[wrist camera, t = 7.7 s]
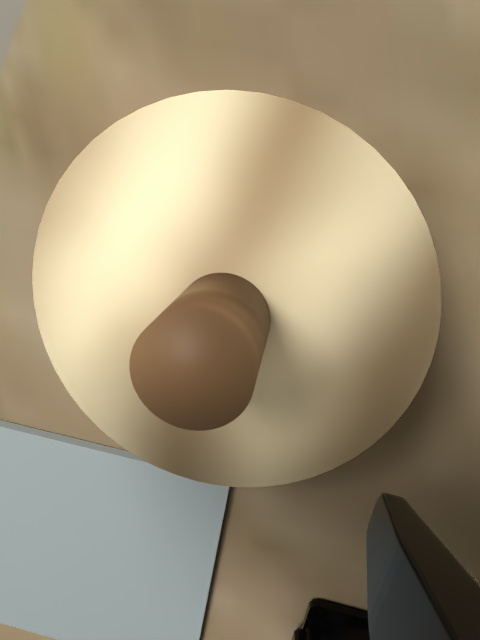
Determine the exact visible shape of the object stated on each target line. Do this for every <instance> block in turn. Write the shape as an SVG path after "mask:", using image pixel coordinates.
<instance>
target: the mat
mask: <svg viewBox="0 0 480 640" xmlns="http://www.w3.org/2000/svg"><path fill="white" fill-rule="evenodd" d="M229 488H230V486H219V485H214V484H208V483H203V482H198V481H194V480H191V479H188V478H184V477H181V476H178V475H175V474H172V473H170V472H168V471H165V470H163V469H161V468H158V467H156V466H154V465H152V464H150V463H148V462H146V461H144V460H143V459H141V458H139V457H137V456H135V455H134V454H132V453H131V452H129V451H125V450H121V449H117V448H113V447H109V446H104V445H100V444H96V443H92V442H88V441H84V440H80V439H76V438H72V437H68V436H64V435H60V434H55V433H51V432H47V431H43V430H39V429H35V428H31V427H27V426H23V425H19V424H15V423H11V422H6V421H2V420H0V623H2V624H5V625H9V626H12V627H15V628H19V629H22V630H26V631H29V632H33V633H36V634H40V635H43V636H47V637H50V638H54V639H57V640H200V635H201V629H202V624H203V619H204V614H205V609H206V604H207V599H208V594H209V589H210V584H211V579H212V574H213V569H214V564H215V558H216V553H217V548H218V543H219V538H220V533H221V528H222V523H223V518H224V513H225V508H226V503H227V498H228V493H229Z"/></svg>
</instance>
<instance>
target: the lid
mask: <svg viewBox="0 0 480 640" xmlns="http://www.w3.org/2000/svg"><path fill="white" fill-rule="evenodd" d="M32 282H33V297H34V306H35V311H36V316H37V322H38V327H39V330H40V333H41V336H42V339H43V342H44V345H45V349H46V351H47V353H48V355H49V358H50V360H51V362H52V364H53V366H54V369H55V371H56V372H57V374H58V376H59V377H60V379H61V381H62V383H63V384H64V386H65V388H66V389H67V391H68V392H69V394H70V395H71V396H72V398H73V399H74V400H75V402H76V403H77V404H78V406H79V407H80V408H81V409H82V411H83V412H84V413H85V414H86V415H87V416H88V417H89V418H90V419H91V420H92V421H93V422H94V423H95V424H96V425H97V426H98V427H99V428H100V429H101V430H102V431H103V432H104V433H106V434H107V435H108V436H109V437H110V438H111V439H113V440H114V441H115V442H116V443H118V444H119V445H121V446H122V447H124V448H125V449H126V450H128V451H129V452H131V453H132V454H134V455H135V456H137V457H139V458H141V459H143V460H144V461H146V462H148V463H150V464H152V465H154V466H156V467H158V468H161V469H163V470H165V471H168V472H170V473H172V474H175V475H178V476H181V477H184V478H188V479H191V480H194V481H198V482H203V483H208V484H214V485H219V486H230V487H242V488H244V487H269V486H276V485H283V484H289V483H293V482H297V481H301V480H305V479H309V478H312V477H315V476H317V475H320V474H322V473H325V472H328V471H330V470H333V469H335V468H337V467H338V466H340V465H342V464H344V463H346V462H348V461H350V460H352V459H353V458H355V457H356V456H358V455H359V454H361V453H362V452H363V451H365V450H366V449H368V448H369V447H370V446H372V445H373V444H374V443H375V442H377V441H378V440H379V439H380V438H381V437H382V436H383V435H384V434H385V433H386V432H387V431H388V430H390V429H391V428H392V426H393V425H394V424H395V423H396V422H397V420H398V419H399V418H400V417H401V416H402V414H403V413H404V412H405V411H406V409H407V408H408V407H409V405H410V403H411V402H412V400H413V398H414V397H415V395H416V394H417V392H418V390H419V389H420V387H421V385H422V383H423V380H424V378H425V376H426V374H427V371H428V369H429V367H430V365H431V362H432V358H433V355H434V351H435V347H436V344H437V340H438V335H439V328H440V320H441V312H442V298H441V278H440V272H439V266H438V260H437V254H436V251H435V247H434V244H433V241H432V238H431V235H430V232H429V229H428V226H427V223H426V221H425V219H424V217H423V215H422V213H421V211H420V209H419V207H418V205H417V203H416V201H415V199H414V197H413V196H412V194H411V193H410V191H409V190H408V189H407V187H406V186H405V184H404V183H403V181H402V180H401V178H400V177H399V175H398V174H397V173H396V171H395V170H394V169H393V168H392V167H391V166H390V165H389V164H388V163H387V162H386V161H385V159H384V158H383V157H382V156H381V155H380V154H379V153H378V152H377V151H376V150H375V149H374V148H373V147H372V146H370V145H369V144H368V143H367V142H365V141H364V140H363V139H362V138H360V137H359V136H358V135H357V134H356V133H354V132H353V131H352V130H351V129H349V128H347V127H346V126H344V125H342V124H341V123H339V122H337V121H336V120H334V119H332V118H330V117H329V116H327V115H325V114H324V113H322V112H320V111H317V110H315V109H312V108H310V107H307V106H305V105H302V104H300V103H297V102H295V101H292V100H289V99H285V98H281V97H276V96H272V95H268V94H264V93H259V92H248V91H237V90H217V91H200V92H194V93H189V94H184V95H180V96H175V97H170V98H167V99H164V100H161V101H159V102H156V103H153V104H151V105H148V106H145V107H143V108H140V109H139V110H137V111H135V112H133V113H131V114H130V115H128V116H126V117H124V118H122V119H121V120H119V121H117V122H115V123H114V124H113V125H111V126H110V127H109V128H108V129H106V130H105V131H104V132H102V133H101V134H100V135H98V136H97V137H96V138H95V139H93V140H92V141H91V142H90V143H89V145H88V146H87V147H86V148H85V149H84V150H83V151H82V152H81V153H80V154H79V155H78V156H77V157H76V158H75V159H74V161H73V162H72V163H71V165H70V166H69V168H68V169H67V170H66V172H65V173H64V175H63V176H62V177H61V179H60V180H59V182H58V184H57V186H56V188H55V190H54V192H53V194H52V196H51V198H50V200H49V202H48V203H47V206H46V209H45V212H44V215H43V218H42V220H41V223H40V226H39V230H38V235H37V240H36V245H35V250H34V259H33V274H32Z"/></svg>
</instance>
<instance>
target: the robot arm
mask: <svg viewBox="0 0 480 640" xmlns="http://www.w3.org/2000/svg"><path fill="white" fill-rule="evenodd" d="M367 598H368V613H367V612H363V611H359V610H356V609H352V608H348V607H344V606H341V605H337V604H333V603H329V602H325V601H322V600H312V601H310V603H309V605H308V608H307V611H306V614H305V618H304V621H303V624H302V627H301V628H297V629H296V630H295V631H294V634H293V637H292V640H480V586H479V585H478V584H477V583H476V581H475V580H474V579H473V578H472V577H471V576H470V574H469V573H468V572H467V571H466V570H465V569H464V567H463V566H462V565H461V564H460V563H459V562H458V561H457V559H456V558H455V557H454V556H453V555H452V554H451V552H450V551H449V550H448V549H447V548H446V547H445V545H444V544H443V543H442V542H441V541H440V540H439V538H438V537H437V536H436V535H435V534H434V533H433V532H432V530H431V529H430V528H429V527H428V526H427V525H426V523H425V522H424V521H423V520H422V519H421V518H420V516H419V515H418V514H417V513H416V512H415V511H414V510H413V508H412V507H411V506H410V505H409V504H408V503H407V501H406V500H405V499H404V498H402V497H399V496H395V495H391V494H387V493H382V494H380V496H379V497H378V499H377V502H376V505H375V508H374V510H373V513H372V516H371V519H370V522H369V525H368V529H367Z"/></svg>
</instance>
